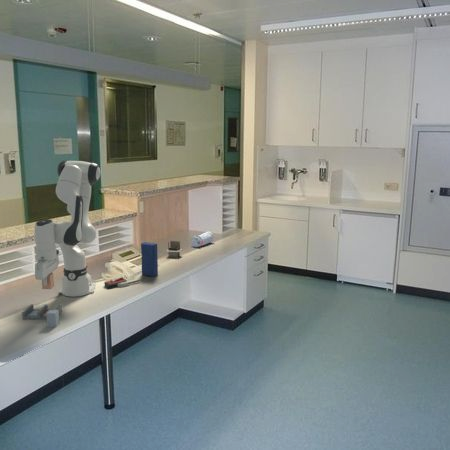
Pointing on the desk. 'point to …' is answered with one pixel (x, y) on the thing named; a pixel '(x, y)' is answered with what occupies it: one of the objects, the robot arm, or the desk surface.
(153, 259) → the blue rectangular block
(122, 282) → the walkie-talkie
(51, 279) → the terracotta plug
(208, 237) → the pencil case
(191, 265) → the desk surface
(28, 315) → the slot dock
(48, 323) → the slate-blue plug
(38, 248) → the robot arm
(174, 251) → the architectural model
